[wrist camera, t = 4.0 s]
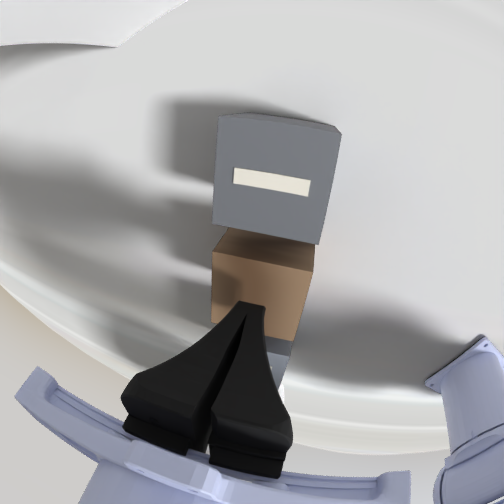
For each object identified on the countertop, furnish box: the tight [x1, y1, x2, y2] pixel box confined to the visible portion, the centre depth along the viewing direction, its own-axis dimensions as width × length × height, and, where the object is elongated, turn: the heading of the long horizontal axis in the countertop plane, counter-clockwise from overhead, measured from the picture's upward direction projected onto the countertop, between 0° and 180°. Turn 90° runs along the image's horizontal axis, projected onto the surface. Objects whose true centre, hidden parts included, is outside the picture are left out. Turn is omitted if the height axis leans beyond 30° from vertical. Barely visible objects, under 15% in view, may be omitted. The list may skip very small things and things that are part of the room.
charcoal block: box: [212, 113, 342, 245], centre depth 14 cm, size 5×5×5 cm
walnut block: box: [211, 227, 315, 341], centre depth 17 cm, size 5×5×5 cm
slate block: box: [265, 336, 292, 390], centre depth 20 cm, size 5×5×5 cm
